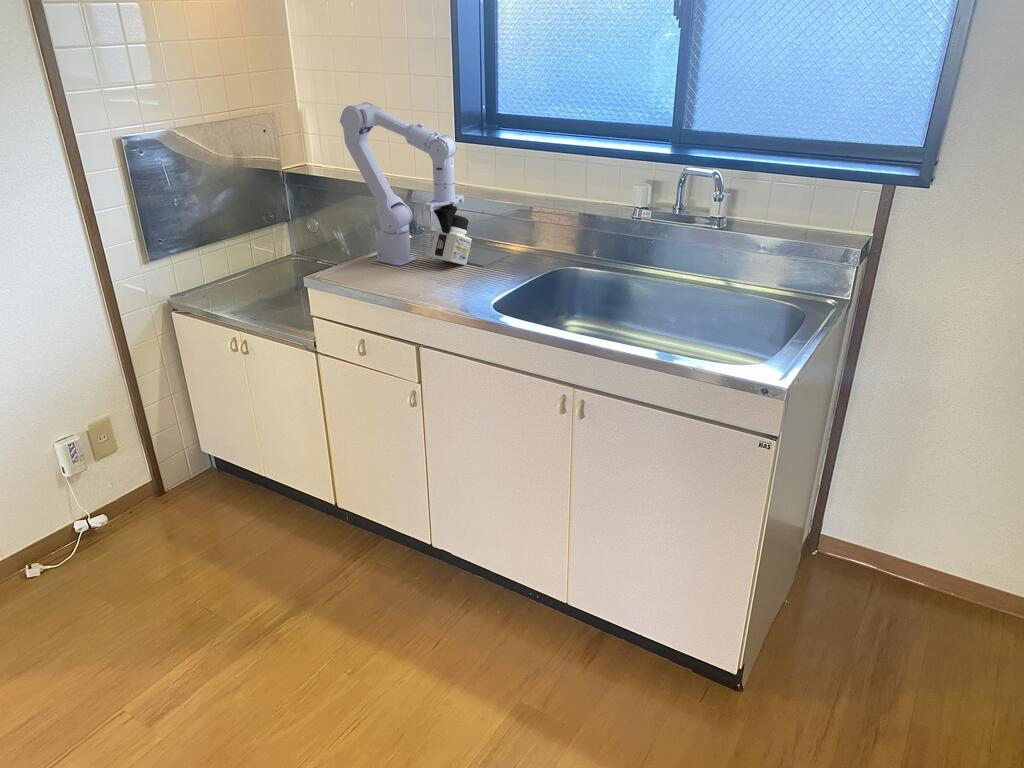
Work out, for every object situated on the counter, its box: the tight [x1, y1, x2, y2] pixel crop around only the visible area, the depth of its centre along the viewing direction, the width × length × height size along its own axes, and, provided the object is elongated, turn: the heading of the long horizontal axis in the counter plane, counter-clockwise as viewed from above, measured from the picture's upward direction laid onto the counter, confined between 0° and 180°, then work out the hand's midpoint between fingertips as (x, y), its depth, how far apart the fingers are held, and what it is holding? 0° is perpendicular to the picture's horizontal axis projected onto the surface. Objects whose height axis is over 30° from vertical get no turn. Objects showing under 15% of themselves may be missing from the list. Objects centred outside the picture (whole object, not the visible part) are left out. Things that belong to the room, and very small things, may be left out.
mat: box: [466, 246, 511, 268], centre depth 229 cm, size 18×13×1 cm
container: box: [429, 214, 473, 266], centre depth 219 cm, size 8×8×13 cm
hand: (446, 232), depth 216 cm, fingers closed, pressing on container
